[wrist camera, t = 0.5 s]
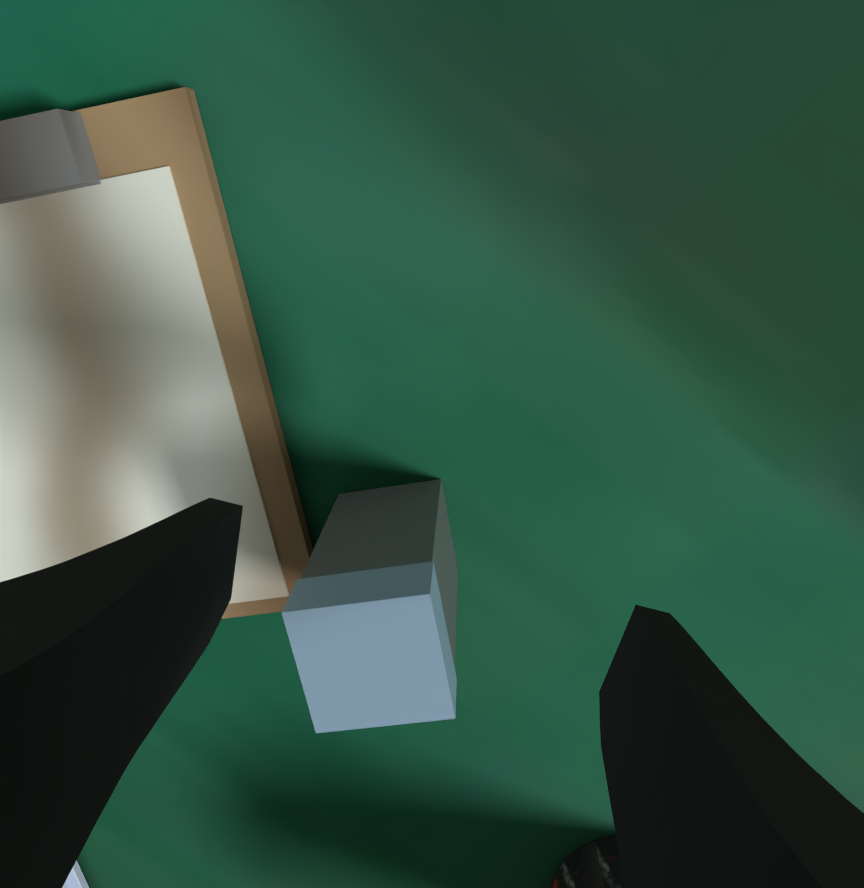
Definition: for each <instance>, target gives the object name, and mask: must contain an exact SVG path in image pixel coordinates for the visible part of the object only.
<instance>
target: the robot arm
mask: <svg viewBox="0 0 864 888" xmlns="http://www.w3.org/2000/svg"><path fill="white" fill-rule="evenodd" d="M242 510H243V506H242V505H238V504H234V503H230V502H226V501H222V500H218V499H214V498H208V499H206V500H203V501H201V502H199V503H196V504H194V505H192V506H190V507H188V508H186V509H184V510H182V511H180V512H177V513H175V514H173V515H171V516H169V517H167V518H165V519H163V520H161V521H159V522H156V523H154V524H152V525H150V526H148V527H146V528H143V529H141V530H139V531H137V532H135V533H133V534H130V535H128V536H126V537H124V538H122V539H119V540H117V541H114V542H112V543H109V544H107V545H105V546H102V547H100V548H97V549H95V550H92V551H90V552H87V553H85V554H82V555H80V556H77V557H75V558H73V559H70V560H67V561H65V562H62V563H59V564H56V565H53V566H50V567H47V568H45V569H42V570H39V571H35V572H32V573H29V574H26V575H22V576H19V577H16V578H13V579H9V580H6V581H2V582H0V888H89V886H88V884H87V882H86V880H85V877H84V875H83V873H82V871H81V869H80V866H79V864H78V862H77V858H78V856H79V854H80V852H81V851H82V849H83V847H84V845H85V843H86V841H87V839H88V837H89V835H90V833H91V831H92V829H93V827H94V826H95V824H96V822H97V820H98V818H99V816H100V815H101V813H102V811H103V809H104V807H105V805H106V803H107V802H108V800H109V798H110V796H111V794H112V792H113V791H114V789H115V787H116V785H117V783H118V781H119V780H120V778H121V776H122V774H123V772H124V771H125V769H126V767H127V766H128V764H129V762H130V761H131V759H132V758H133V756H134V754H135V753H136V751H137V750H138V748H139V746H140V745H141V743H142V742H143V741H144V739H145V738H146V736H147V735H148V733H149V732H150V730H151V729H152V727H153V726H154V724H155V723H156V721H157V720H158V718H159V717H160V716H161V714H162V713H163V711H164V710H165V708H166V707H167V705H168V704H169V702H170V701H171V699H172V698H173V696H174V695H175V693H176V692H177V691H178V689H179V688H180V686H181V685H182V683H183V682H184V680H185V679H186V677H187V676H188V674H189V673H190V671H191V670H192V668H193V667H194V665H195V664H196V662H197V661H198V659H199V658H200V656H201V655H202V653H203V652H204V650H205V649H206V647H207V646H208V644H209V642H210V640H211V638H212V636H213V634H214V632H215V630H216V628H217V626H218V624H219V622H220V620H221V618H222V616H223V614H224V612H225V610H226V608H227V606H228V604H229V602H230V600H231V596H232V588H233V580H234V572H235V565H236V557H237V549H238V541H239V533H240V526H241V518H242ZM599 698H600V732H601V748H602V754H603V761H604V767H605V773H606V779H607V785H608V791H609V796H610V802H611V808H612V814H613V819H614V825H615V831H616V836H617V842H618V848H619V854H620V859H621V865H622V871H623V878H624V886H625V888H864V813H862V812H861V811H860V810H859V809H858V808H857V807H855V806H854V805H853V804H852V803H851V802H849V801H848V800H847V799H846V798H845V797H844V796H843V795H841V794H840V793H839V792H838V791H837V790H836V789H835V788H834V787H833V786H832V785H830V784H829V783H828V782H827V781H826V780H825V779H824V778H823V777H822V776H821V775H819V774H818V773H817V772H816V771H815V770H814V769H813V768H812V767H811V766H809V765H808V764H807V763H806V762H805V761H804V760H803V759H802V758H801V757H800V756H799V755H798V754H797V753H796V752H795V751H794V750H793V749H792V748H791V747H790V746H789V745H788V744H787V743H786V742H785V741H784V740H783V739H782V738H781V737H780V736H779V735H778V734H777V733H776V732H775V731H774V730H773V729H772V727H771V726H770V725H769V724H768V723H767V722H766V721H765V720H764V719H763V718H762V717H761V716H760V715H759V714H758V713H757V712H756V711H755V709H754V708H753V707H752V706H751V705H750V704H749V703H748V702H747V701H746V700H745V698H744V697H743V696H742V695H741V694H740V693H739V692H738V691H737V690H736V688H735V687H734V686H733V685H732V684H731V683H730V682H729V680H728V679H727V678H726V677H725V676H724V675H723V673H722V672H721V671H720V670H719V669H718V668H717V666H716V665H715V664H714V663H713V662H712V661H711V659H710V658H709V657H708V656H707V655H706V654H705V652H704V651H703V650H702V649H701V648H700V647H699V645H698V644H697V643H696V642H695V641H694V640H693V638H692V637H691V636H690V635H689V634H688V633H687V631H686V630H685V629H684V628H683V627H682V626H681V625H680V624H679V623H678V622H677V620H676V619H675V618H674V617H673V616H672V615H671V614H670V613H666V612H662V611H658V610H654V609H650V608H646V607H642V606H638V605H636V606H635V608H634V611H633V613H632V615H631V618H630V620H629V622H628V625H627V627H626V630H625V632H624V634H623V637H622V639H621V642H620V644H619V646H618V649H617V651H616V653H615V656H614V658H613V661H612V663H611V665H610V668H609V670H608V672H607V675H606V677H605V680H604V682H603V684H602V687H601V689H600V692H599Z"/></svg>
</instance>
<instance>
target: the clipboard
mask: <svg viewBox="0 0 864 888" xmlns="http://www.w3.org/2000/svg"><path fill="white" fill-rule="evenodd" d="M208 498H214V499H218V500H222V501H226V502H230V503H234V504H238V505H242V506H243V510H242V518H241V526H240V533H239V541H238V549H237V557H236V565H235V572H234V580H233V588H232V596H231V600H230V602H229V604H228V606H227V608H226V610H225V612H224V614H223V616H222V618H221V619H224V618H232V617H240V616H248V615H256V614H264V613H272V612H280V611H283V609H284V606H285V604H286V602H287V600H288V598H289V596H290V593H291V591H292V589H293V587H294V585H295V583H296V580H297V579H300V578H301V576H302V574H303V572H304V569H305V567H306V565H307V563H308V561H309V558H310V556H311V554H312V552H313V547H312V543H311V539H310V535H309V532H308V528H307V524H306V520H305V516H304V512H303V509H302V505H301V501H300V497H299V493H298V489H297V485H296V482H295V478H294V474H293V470H292V466H291V462H290V458H289V455H288V451H287V447H286V443H285V439H284V435H283V432H282V428H281V424H280V420H279V416H278V412H277V408H276V405H275V401H274V397H273V393H272V389H271V385H270V381H269V378H268V374H267V370H266V366H265V362H264V358H263V355H262V351H261V347H260V343H259V339H258V335H257V331H256V328H255V324H254V320H253V316H252V312H251V308H250V304H249V301H248V297H247V293H246V289H245V285H244V281H243V277H242V274H241V270H240V266H239V262H238V258H237V254H236V251H235V247H234V243H233V239H232V235H231V231H230V227H229V224H228V220H227V216H226V212H225V208H224V204H223V200H222V197H221V193H220V189H219V185H218V181H217V177H216V174H215V170H214V166H213V162H212V158H211V154H210V150H209V147H208V143H207V139H206V135H205V131H204V127H203V123H202V120H201V116H200V112H199V108H198V104H197V100H196V97H195V93H194V90H192V89H189V88H187V87H182V88H178V89H173V90H168V91H164V92H159V93H154V94H150V95H145V96H140V97H136V98H131V99H127V100H122V101H117V102H113V103H108V104H103V105H99V106H94V107H89V108H85V109H80V110H75V111H67V110H62V109H53V110H49V111H44V112H40V113H35V114H30V115H26V116H21V117H16V118H12V119H7V120H3V121H0V582H2V581H6V580H9V579H13V578H16V577H19V576H22V575H26V574H29V573H32V572H35V571H39V570H42V569H45V568H47V567H50V566H53V565H56V564H59V563H62V562H65V561H67V560H70V559H73V558H75V557H77V556H80V555H82V554H85V553H87V552H90V551H92V550H95V549H97V548H100V547H102V546H105V545H107V544H109V543H112V542H114V541H117V540H119V539H122V538H124V537H126V536H128V535H130V534H133V533H135V532H137V531H139V530H141V529H143V528H146V527H148V526H150V525H152V524H154V523H156V522H159V521H161V520H163V519H165V518H167V517H169V516H171V515H173V514H175V513H177V512H180V511H182V510H184V509H186V508H188V507H190V506H192V505H194V504H196V503H199V502H201V501H203V500H206V499H208Z"/></svg>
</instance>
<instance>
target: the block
mask: <svg viewBox="0 0 864 888" xmlns="http://www.w3.org/2000/svg"><path fill="white" fill-rule="evenodd" d="M457 590H458V568H457V562H456V557H455V552H454V546H453V541H452V535H451V530H450V525H449V519H448V514H447V509H446V503H445V498H444V492H443V487H442V482H441V479H438V480H431V481H424V482H417V483H410V484H403V485H396V486H389V487H382V488H375V489H368V490H361V491H354V492H348V493H341V494H338V497H337V499H336V501H335V503H334V505H333V508H332V510H331V512H330V514H329V516H328V519H327V521H326V523H325V525H324V527H323V530H322V532H321V534H320V536H319V538H318V541H317V543H316V545H315V547H314V550H313V552H312V554H311V556H310V558H309V561H308V563H307V565H306V567H305V569H304V572H303V574H302V576H301V578H300V579H297V580H296V583H295V585H294V587H293V589H292V591H291V593H290V596H289V598H288V600H287V602H286V604H285V606H284V609H283V611H282V616H283V619H284V623H285V626H286V630H287V633H288V637H289V640H290V644H291V647H292V651H293V654H294V658H295V661H296V665H297V668H298V672H299V675H300V679H301V682H302V686H303V689H304V693H305V696H306V700H307V703H308V707H309V710H310V714H311V717H312V721H313V724H314V728H315V731H316V733H323V732H333V731H342V730H351V729H361V728H370V727H380V726H389V725H399V724H408V723H418V722H427V721H437V720H446V719H455V713H456V681H457V678H456V673H455V646H456V618H457Z"/></svg>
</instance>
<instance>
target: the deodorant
mask: <svg viewBox="0 0 864 888" xmlns="http://www.w3.org/2000/svg"><path fill="white" fill-rule="evenodd" d="M551 887H552V888H625V886H624V878H623V871H622V865H621V859H620V854H619V848H618V842H617V836H612V837H608V838H604V839H600V840H595V841H593V842H591V843H589V844H587V845H585V846H582V847H580V848H578V849H577V850H576V851H574V852H573V853H572V854H571V855H570V856H568V857H567V858H566V859H565V860H564V861H563V862H562V864H561V865H560V867H559V868H558V869H557V871H556V872H555V876H554V879H553V882H552V886H551Z"/></svg>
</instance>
